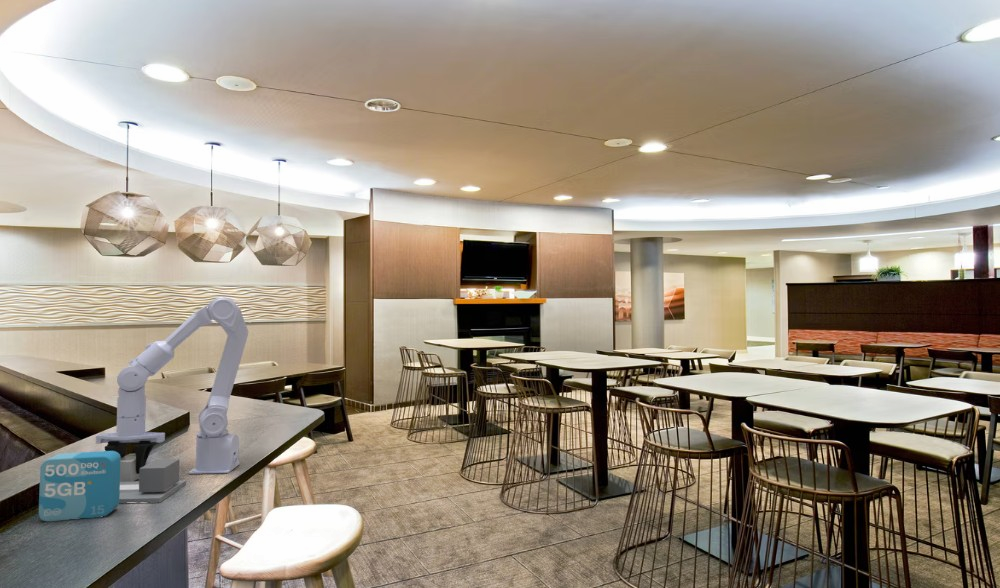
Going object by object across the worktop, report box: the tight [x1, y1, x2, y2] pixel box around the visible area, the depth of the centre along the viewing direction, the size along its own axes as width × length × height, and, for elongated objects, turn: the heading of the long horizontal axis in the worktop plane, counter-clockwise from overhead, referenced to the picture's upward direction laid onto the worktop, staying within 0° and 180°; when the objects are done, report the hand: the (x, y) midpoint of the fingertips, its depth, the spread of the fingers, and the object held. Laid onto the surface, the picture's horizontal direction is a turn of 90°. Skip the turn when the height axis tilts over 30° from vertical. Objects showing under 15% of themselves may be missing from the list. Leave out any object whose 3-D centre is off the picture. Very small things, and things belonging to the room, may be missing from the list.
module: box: [120, 453, 148, 482], centre depth 130 cm, size 4×7×5 cm, turn 7°
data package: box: [38, 450, 121, 523], centre depth 108 cm, size 12×4×12 cm, turn 105°
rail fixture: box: [119, 458, 187, 504], centre depth 120 cm, size 20×12×7 cm, turn 97°
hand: (129, 472), depth 130 cm, fingers closed on module, 4 cm apart
